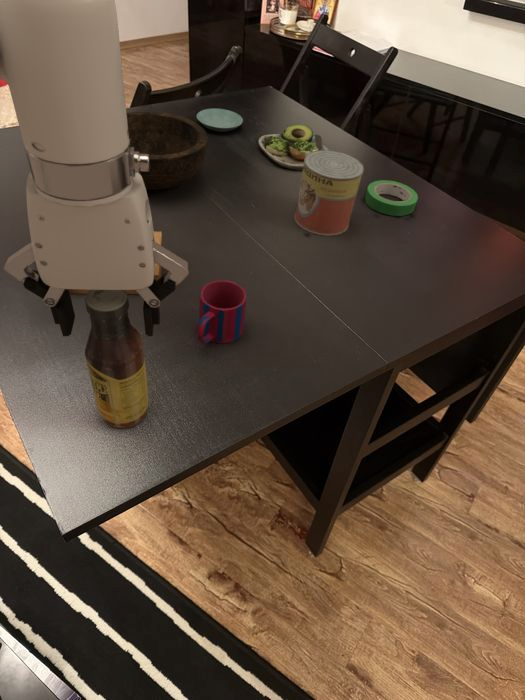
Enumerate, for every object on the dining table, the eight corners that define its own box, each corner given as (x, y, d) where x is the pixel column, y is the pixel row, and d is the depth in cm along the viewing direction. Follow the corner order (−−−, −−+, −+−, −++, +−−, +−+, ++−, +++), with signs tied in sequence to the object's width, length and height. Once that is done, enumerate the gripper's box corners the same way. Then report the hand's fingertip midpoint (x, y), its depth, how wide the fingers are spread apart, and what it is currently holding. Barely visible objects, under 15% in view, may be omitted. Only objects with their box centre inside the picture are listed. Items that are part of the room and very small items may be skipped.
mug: (251, 325, 74) (255, 292, 70) (213, 364, 68) (215, 330, 63) (216, 307, 76) (218, 273, 72) (176, 343, 70) (175, 308, 65)
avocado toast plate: (350, 171, 114) (355, 152, 111) (283, 179, 108) (286, 159, 105) (312, 137, 126) (315, 118, 123) (250, 142, 120) (251, 123, 116)
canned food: (283, 211, 99) (292, 154, 90) (327, 201, 103) (340, 146, 95) (314, 240, 93) (327, 182, 84) (359, 229, 97) (376, 173, 89)
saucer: (250, 127, 126) (251, 118, 124) (225, 140, 119) (225, 131, 117) (214, 113, 130) (214, 104, 128) (187, 126, 122) (187, 116, 121)
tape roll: (355, 192, 107) (358, 181, 106) (396, 188, 111) (399, 177, 109) (381, 219, 101) (385, 208, 99) (423, 213, 104) (428, 202, 102)
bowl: (185, 152, 112) (185, 108, 105) (222, 199, 99) (224, 152, 92) (90, 163, 104) (83, 115, 97) (117, 215, 91) (111, 164, 84)
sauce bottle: (95, 398, 62) (65, 277, 48) (143, 386, 64) (129, 267, 50) (105, 439, 58) (76, 321, 44) (155, 425, 60) (144, 308, 46)
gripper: (194, 150, 41) (193, 303, 54) (-24, 137, 39) (30, 302, 51) (194, 195, 36) (194, 352, 49) (-56, 184, 34) (13, 353, 46)
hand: (110, 326), depth 50 cm, fingers open, 7 cm apart
